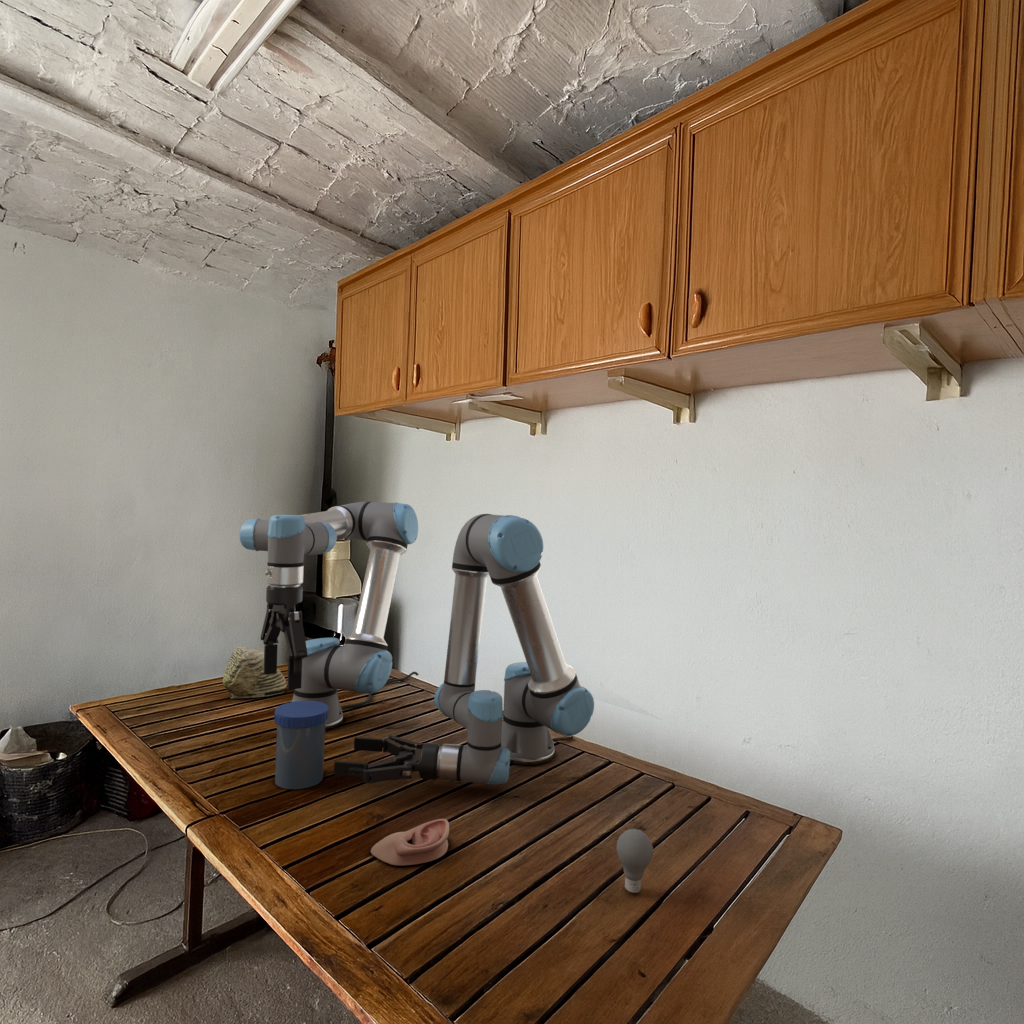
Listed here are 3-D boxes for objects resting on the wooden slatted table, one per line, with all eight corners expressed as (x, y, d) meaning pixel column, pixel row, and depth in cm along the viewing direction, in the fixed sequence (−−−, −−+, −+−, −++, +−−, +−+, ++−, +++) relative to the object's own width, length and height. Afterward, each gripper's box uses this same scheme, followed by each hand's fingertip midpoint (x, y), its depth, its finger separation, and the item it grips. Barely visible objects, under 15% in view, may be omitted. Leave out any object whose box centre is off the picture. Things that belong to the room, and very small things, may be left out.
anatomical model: (363, 838, 111) (389, 807, 122) (362, 860, 111) (388, 827, 122) (436, 849, 108) (455, 817, 119) (435, 872, 108) (454, 838, 119)
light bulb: (610, 879, 108) (613, 822, 108) (644, 879, 109) (647, 822, 109) (619, 902, 102) (622, 840, 102) (655, 901, 103) (658, 840, 103)
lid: (302, 707, 149) (302, 697, 149) (339, 716, 144) (339, 706, 144) (262, 721, 139) (263, 710, 139) (300, 732, 134) (301, 721, 134)
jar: (300, 765, 149) (302, 700, 148) (333, 775, 144) (335, 708, 144) (264, 781, 140) (267, 712, 139) (298, 793, 135) (301, 722, 134)
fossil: (218, 695, 195) (220, 647, 195) (278, 685, 208) (279, 640, 207) (228, 703, 189) (230, 653, 188) (289, 692, 201) (290, 645, 201)
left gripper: (247, 578, 146) (244, 670, 146) (290, 594, 127) (287, 699, 128) (279, 577, 151) (276, 665, 151) (326, 591, 132) (322, 692, 133)
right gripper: (427, 805, 127) (324, 798, 128) (448, 756, 152) (361, 750, 153) (429, 768, 127) (325, 761, 128) (449, 725, 152) (362, 719, 153)
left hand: (281, 681), depth 140 cm, fingers open, 13 cm apart
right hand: (344, 755), depth 141 cm, fingers open, 13 cm apart
